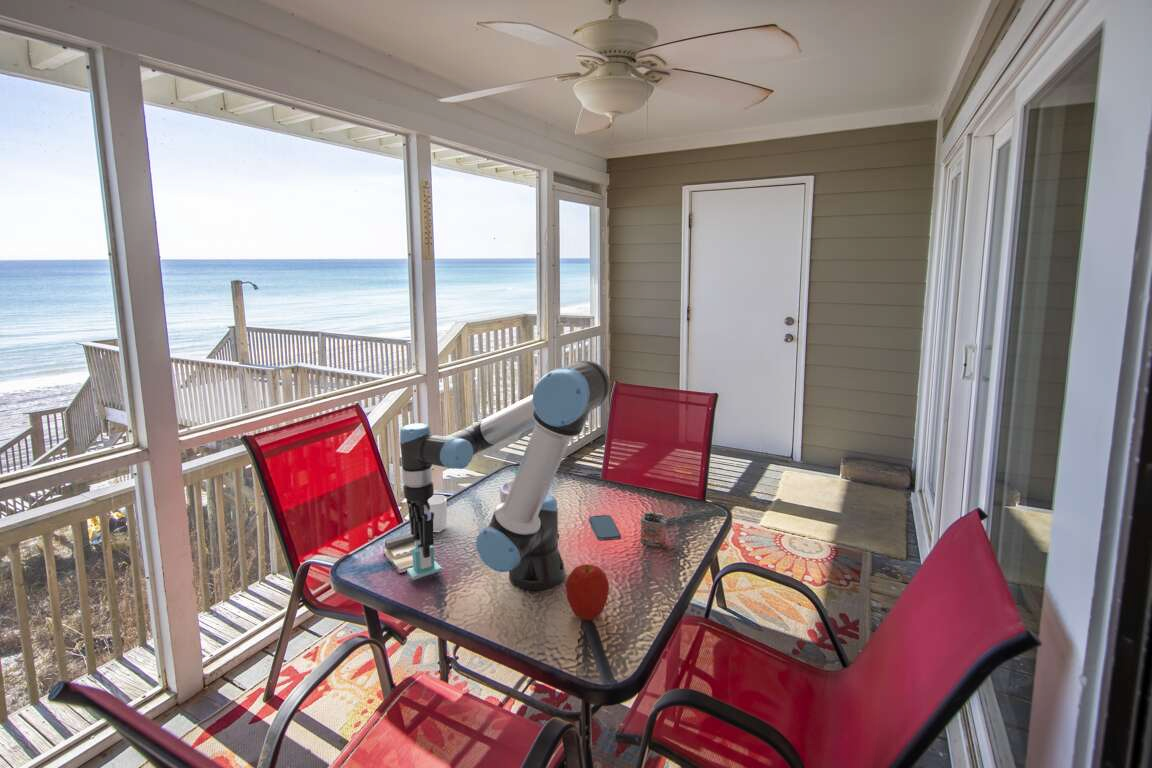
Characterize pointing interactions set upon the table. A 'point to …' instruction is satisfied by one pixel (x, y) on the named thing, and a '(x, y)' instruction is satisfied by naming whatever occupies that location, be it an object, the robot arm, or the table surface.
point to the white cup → (438, 511)
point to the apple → (587, 591)
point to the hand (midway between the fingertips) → (423, 564)
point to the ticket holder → (401, 550)
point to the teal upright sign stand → (416, 569)
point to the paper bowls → (505, 490)
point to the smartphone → (604, 527)
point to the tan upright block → (653, 529)
